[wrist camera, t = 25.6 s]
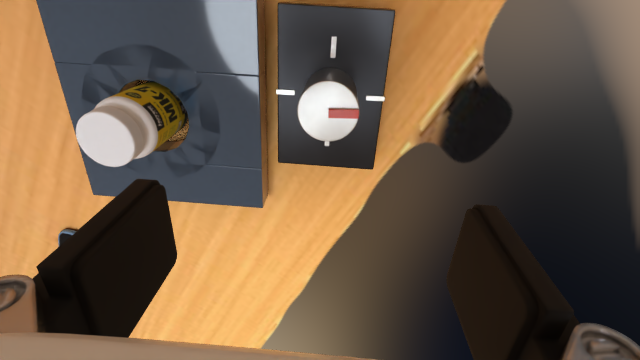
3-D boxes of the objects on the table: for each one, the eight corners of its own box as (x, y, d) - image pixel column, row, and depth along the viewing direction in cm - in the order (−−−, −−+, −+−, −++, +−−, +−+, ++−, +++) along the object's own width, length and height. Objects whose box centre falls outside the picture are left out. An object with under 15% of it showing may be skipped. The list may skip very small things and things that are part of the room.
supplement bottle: (200, 107, 30) (154, 143, 23) (170, 142, 32) (118, 185, 25) (154, 66, 29) (89, 90, 21) (126, 105, 31) (56, 139, 23)
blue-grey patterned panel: (53, -28, 26) (26, -30, 24) (264, -15, 26) (256, -16, 23) (109, 182, 34) (93, 195, 32) (268, 194, 34) (262, 208, 32)
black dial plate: (282, 2, 26) (275, 2, 23) (391, 8, 26) (397, 10, 23) (282, 148, 32) (276, 163, 29) (371, 155, 31) (374, 170, 29)
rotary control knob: (304, 120, 27) (297, 142, 23) (303, 67, 25) (295, 81, 21) (355, 121, 27) (357, 144, 23) (358, 68, 25) (361, 82, 21)
